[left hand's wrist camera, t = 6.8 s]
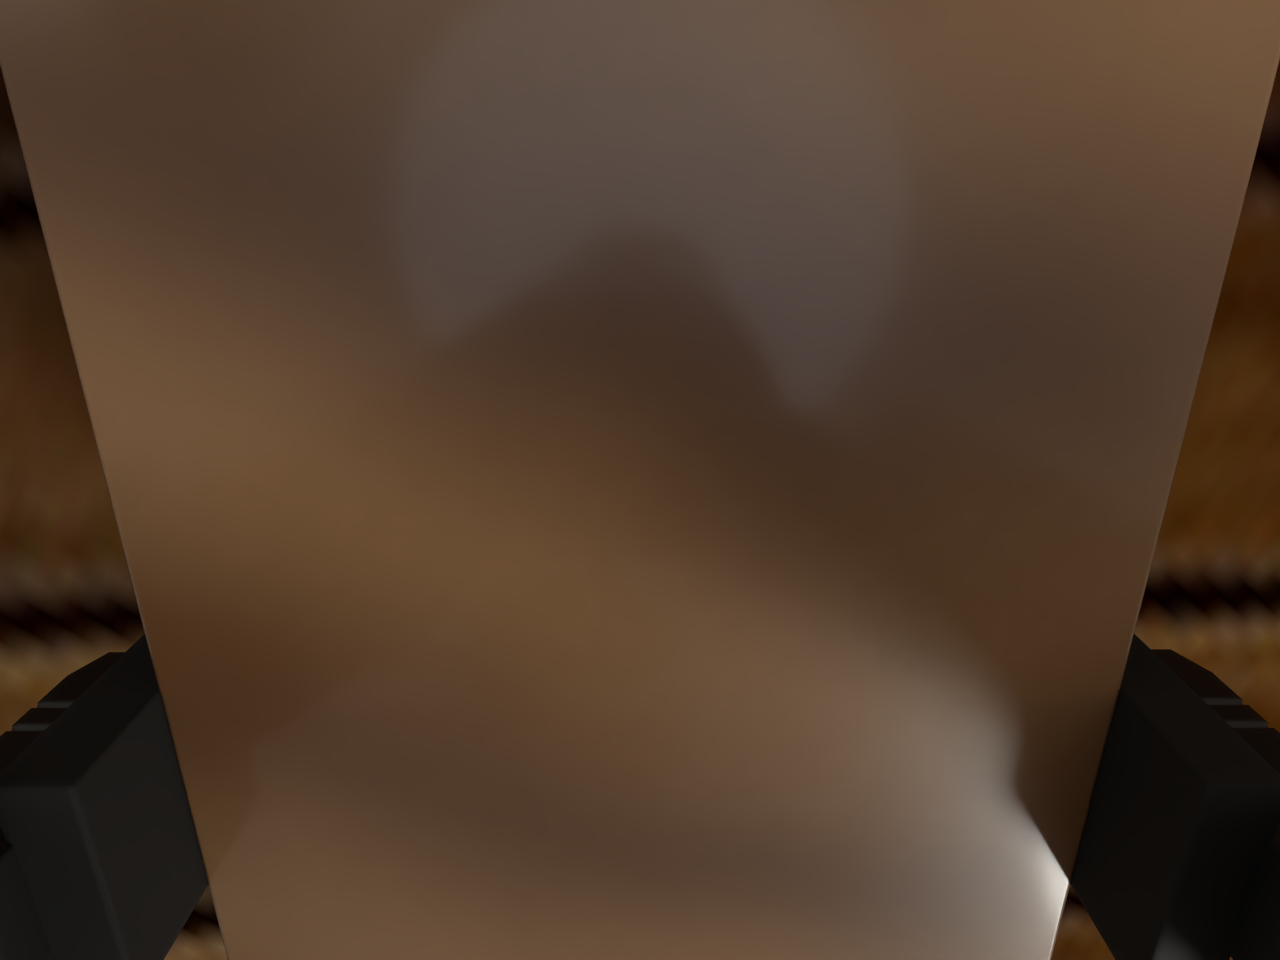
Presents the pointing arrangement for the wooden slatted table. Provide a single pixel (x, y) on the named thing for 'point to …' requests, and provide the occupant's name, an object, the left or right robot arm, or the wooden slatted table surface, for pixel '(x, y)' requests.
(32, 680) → the wooden slatted table surface
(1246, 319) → the wooden slatted table surface
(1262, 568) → the wooden slatted table surface
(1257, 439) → the wooden slatted table surface
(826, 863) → the cabinet
